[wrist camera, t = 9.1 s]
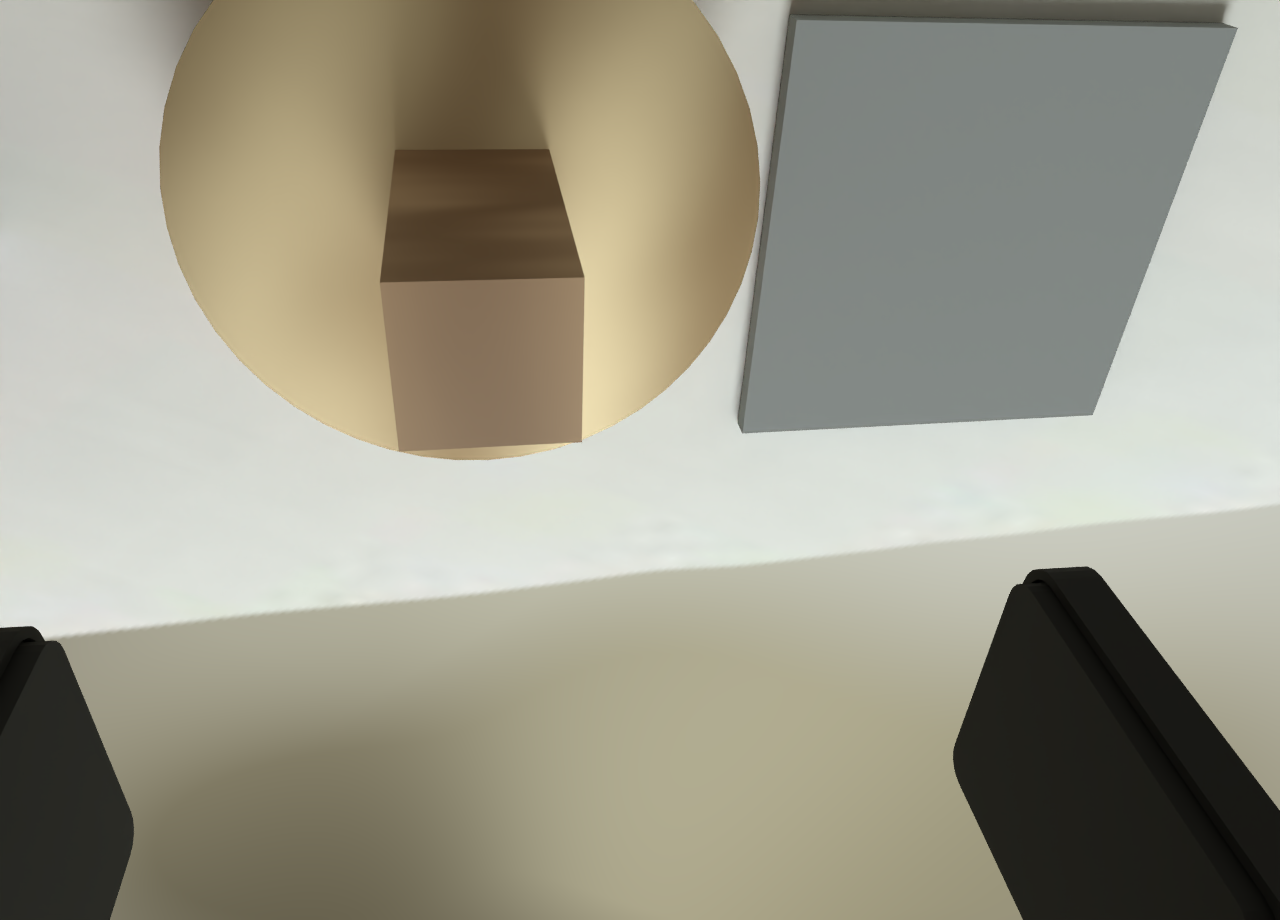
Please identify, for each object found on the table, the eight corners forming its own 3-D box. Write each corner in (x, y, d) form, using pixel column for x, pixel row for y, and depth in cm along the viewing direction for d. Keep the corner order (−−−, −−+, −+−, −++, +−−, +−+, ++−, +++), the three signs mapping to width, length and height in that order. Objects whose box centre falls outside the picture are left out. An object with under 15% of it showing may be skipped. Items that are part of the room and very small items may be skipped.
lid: (782, -108, 18) (931, -48, 13) (720, 424, 25) (800, 614, 20) (98, -135, 17) (-79, -78, 11) (233, 449, 23) (168, 667, 18)
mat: (1223, 23, 26) (1237, 27, 26) (1082, 405, 33) (1092, 415, 32) (789, 14, 24) (797, 19, 24) (737, 423, 31) (742, 433, 31)
